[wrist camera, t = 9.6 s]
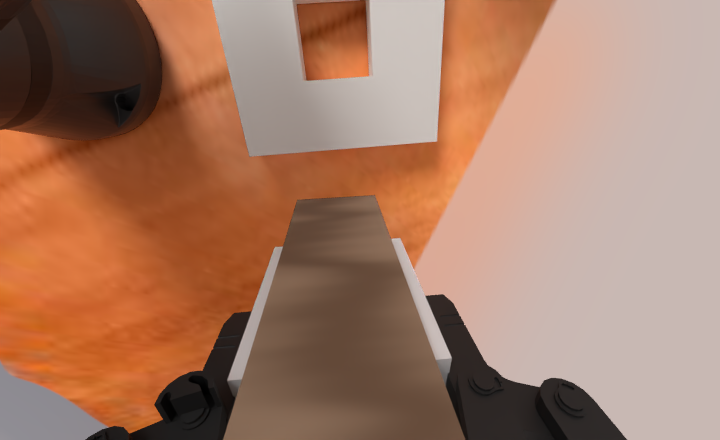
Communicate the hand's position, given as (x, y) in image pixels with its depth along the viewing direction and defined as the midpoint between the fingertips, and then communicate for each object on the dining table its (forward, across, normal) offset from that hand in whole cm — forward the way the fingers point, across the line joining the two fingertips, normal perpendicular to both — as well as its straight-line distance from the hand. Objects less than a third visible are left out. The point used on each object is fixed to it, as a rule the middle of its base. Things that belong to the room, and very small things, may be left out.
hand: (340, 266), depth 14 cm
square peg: (+4, 0, 0) cm, 4 cm away
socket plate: (+18, +1, +11) cm, 22 cm away
